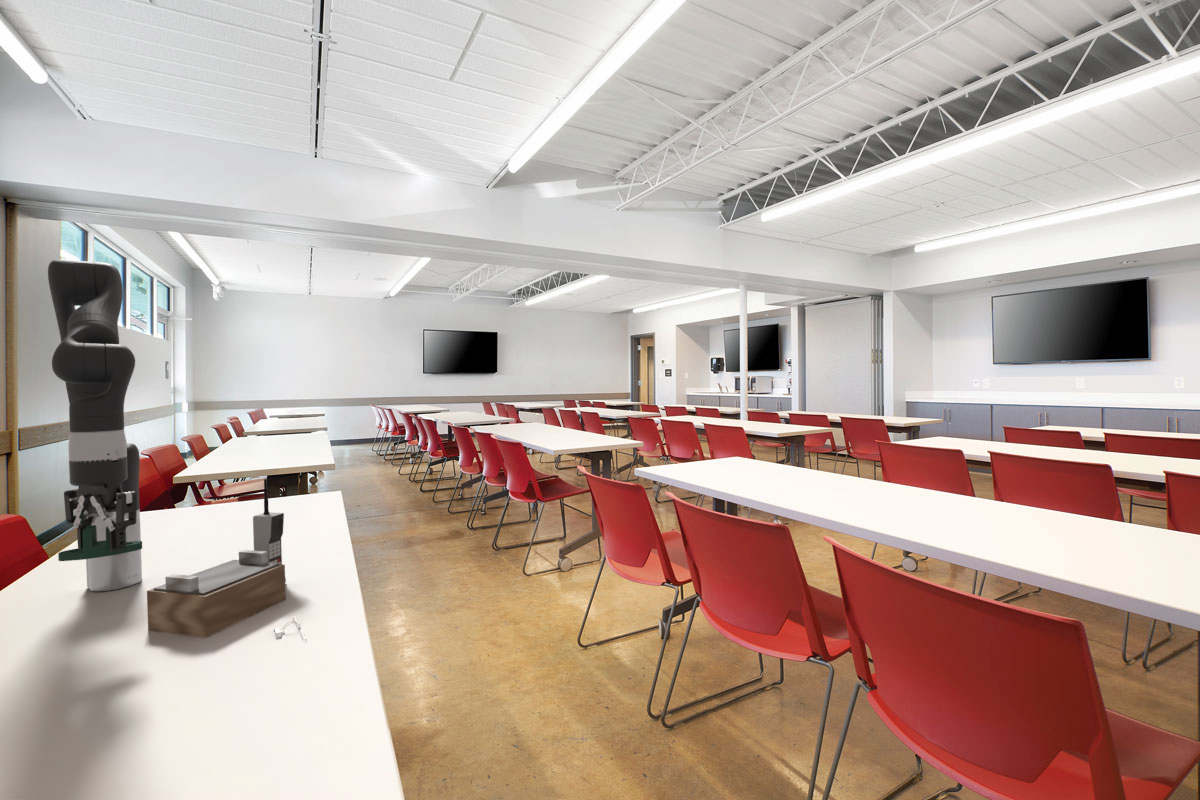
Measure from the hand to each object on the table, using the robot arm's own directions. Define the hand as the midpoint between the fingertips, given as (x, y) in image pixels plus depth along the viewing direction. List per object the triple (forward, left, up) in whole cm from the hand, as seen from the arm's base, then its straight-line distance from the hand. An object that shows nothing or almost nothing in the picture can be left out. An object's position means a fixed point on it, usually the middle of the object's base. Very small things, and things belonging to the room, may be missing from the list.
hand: (102, 548), depth 95 cm
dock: (+8, +15, -18) cm, 25 cm away
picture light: (+28, +12, -18) cm, 35 cm away
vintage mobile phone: (+5, +30, -18) cm, 36 cm away
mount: (0, 0, -1) cm, 1 cm away
